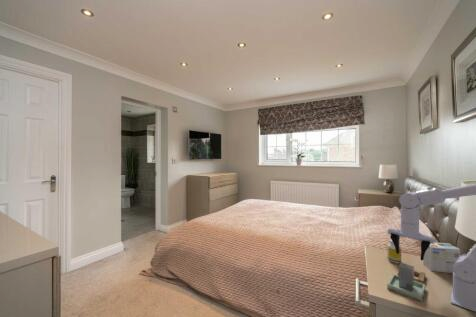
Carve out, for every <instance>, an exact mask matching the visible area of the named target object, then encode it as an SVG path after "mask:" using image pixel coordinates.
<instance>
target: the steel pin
mask: <svg viewBox="0 0 476 317" xmlns="http://www.w3.org/2000/svg"><path fill="white" fill-rule="evenodd" d="M414 270H415V266H413V265H410V264H406V263H403V262H401V263H399V265H398V272H399V287H400V288H403V289H406V290H408V291H411V292H412V291H413V288H414V277H415V275H414Z"/></svg>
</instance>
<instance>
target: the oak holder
mask: <svg viewBox="0 0 476 317" xmlns="http://www.w3.org/2000/svg"><path fill="white" fill-rule="evenodd" d="M397 275H398V276H399V271H398V272H397ZM425 279H426V272H423V271H419V270H417V269H414V281H416V282H419V283H422V284H424V282H425Z"/></svg>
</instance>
